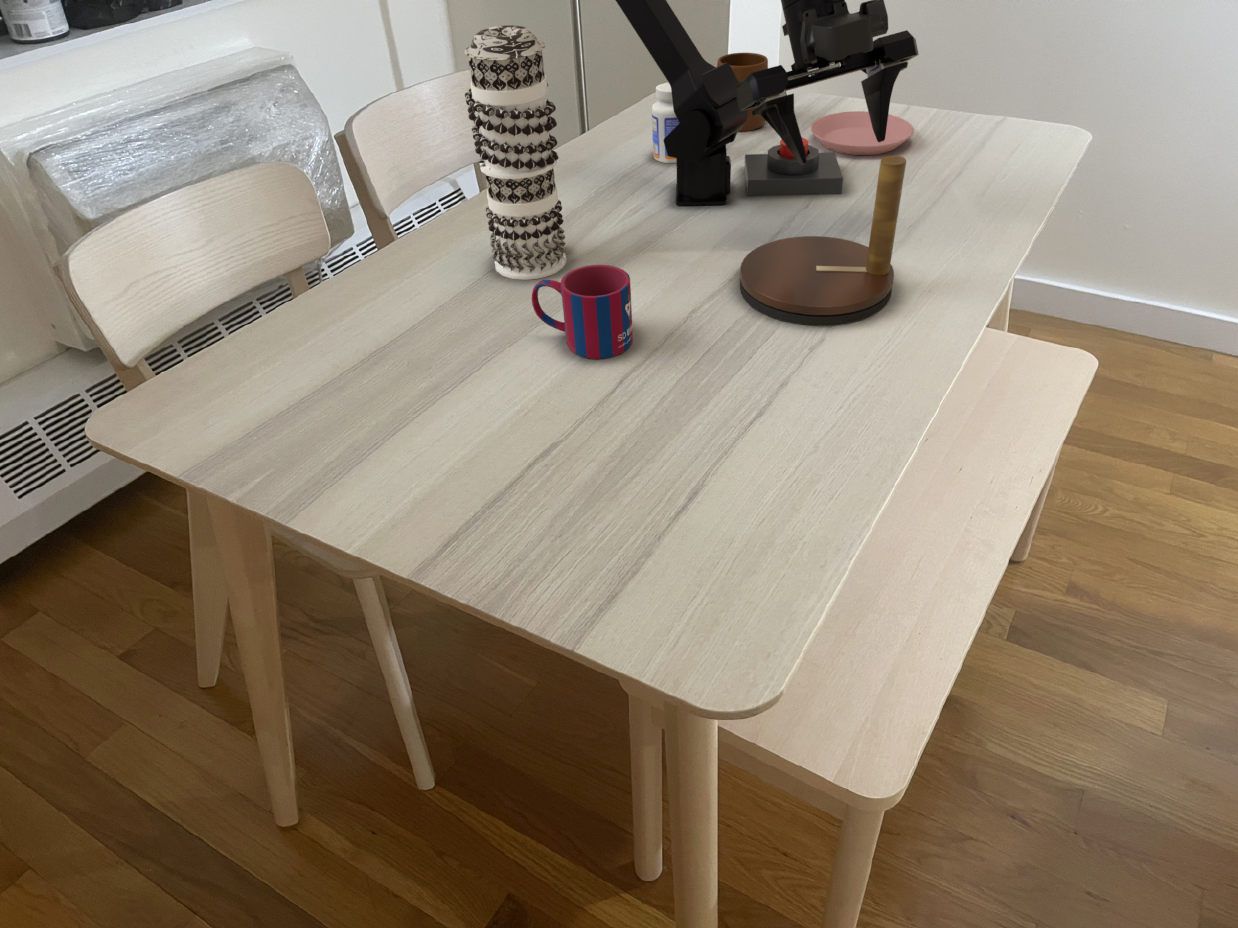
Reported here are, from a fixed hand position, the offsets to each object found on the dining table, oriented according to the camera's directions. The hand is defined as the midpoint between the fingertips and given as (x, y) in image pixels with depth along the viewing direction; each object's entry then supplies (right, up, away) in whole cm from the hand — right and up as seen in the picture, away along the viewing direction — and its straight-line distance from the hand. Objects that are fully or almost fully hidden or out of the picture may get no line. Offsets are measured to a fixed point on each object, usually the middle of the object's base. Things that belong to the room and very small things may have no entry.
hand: (842, 152), depth 97 cm
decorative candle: (-35, -11, +7) cm, 37 cm away
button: (-2, +6, +19) cm, 20 cm away
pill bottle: (-17, +10, +30) cm, 36 cm away
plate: (+10, +12, +31) cm, 35 cm away
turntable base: (-3, -15, -1) cm, 15 cm away
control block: (-1, +4, +21) cm, 22 cm away
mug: (-7, +17, +38) cm, 42 cm away
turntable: (-3, -14, -2) cm, 14 cm away
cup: (-28, -21, -7) cm, 36 cm away
